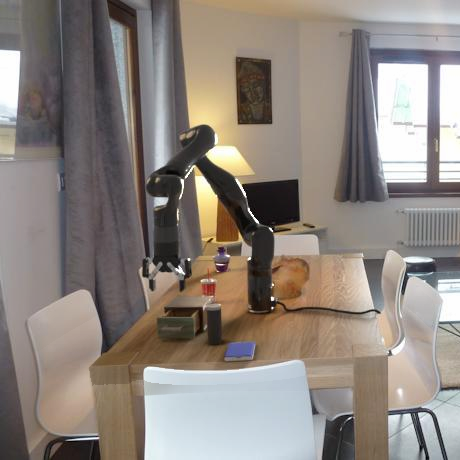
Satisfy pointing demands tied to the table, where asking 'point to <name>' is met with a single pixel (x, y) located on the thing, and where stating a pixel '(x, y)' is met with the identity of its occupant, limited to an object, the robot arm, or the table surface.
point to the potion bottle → (221, 259)
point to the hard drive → (240, 351)
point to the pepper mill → (214, 324)
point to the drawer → (179, 324)
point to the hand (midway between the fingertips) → (167, 291)
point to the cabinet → (192, 306)
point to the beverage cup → (209, 287)
